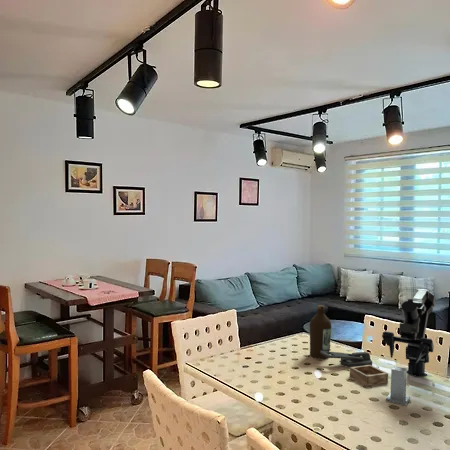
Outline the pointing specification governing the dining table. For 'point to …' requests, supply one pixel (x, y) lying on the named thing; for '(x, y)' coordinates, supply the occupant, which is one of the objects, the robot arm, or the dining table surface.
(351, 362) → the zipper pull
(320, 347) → the olive oil
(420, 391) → the dining table surface
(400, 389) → the bracket post
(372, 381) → the well
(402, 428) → the dining table surface
